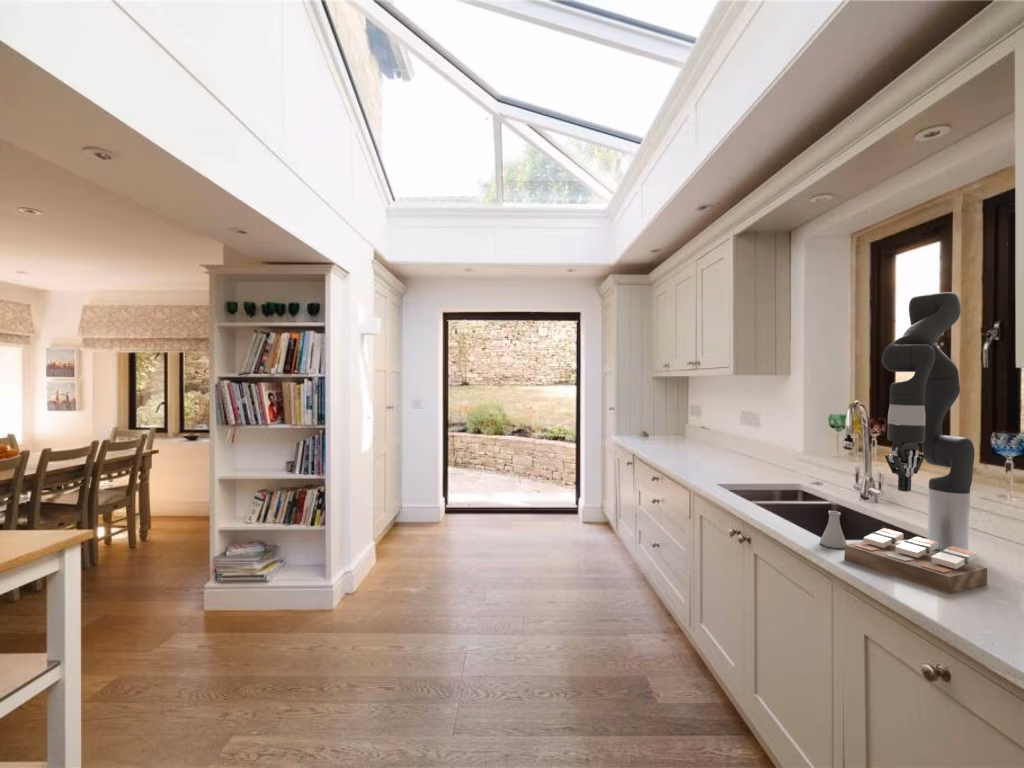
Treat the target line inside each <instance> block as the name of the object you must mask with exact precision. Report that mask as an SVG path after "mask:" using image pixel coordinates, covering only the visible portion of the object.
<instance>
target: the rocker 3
mask: <svg viewBox="0 0 1024 768" xmlns="http://www.w3.org/2000/svg"><path fill="white" fill-rule="evenodd" d="M976 559H977V552H976V551H973V550H971V549H968V550H966V549H963V548H959V547H955V546H951V547H949V548H947V549H945V550H939V552H937V553H935V555H933V556H931V561H932V562H933V563H937V564H940V565H944V566H947V567H950V568H954V569H957V568H959V567H961V566H963V565H965V564H966V565H967V564H968V563H970V562H972V561H974V560H976Z"/></svg>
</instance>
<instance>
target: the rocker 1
mask: <svg viewBox="0 0 1024 768" xmlns="http://www.w3.org/2000/svg"><path fill="white" fill-rule="evenodd" d="M903 539H904V533H902V532H900V531H896V530H893V529H889V528H884V527H883V528H881V529H879V530H877V531H873V532H871V533H870V534H868V535H866V536H864V537H863V542H865V543H868V544H872V545H875V546H878V547H882V548H884V547H887V546H889V545H891V544H895V542H896V543H898V542H900V541H901V540H903Z"/></svg>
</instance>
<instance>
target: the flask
mask: <svg viewBox="0 0 1024 768" xmlns="http://www.w3.org/2000/svg"><path fill="white" fill-rule="evenodd" d="M827 512H828V515H829V516H828V523H827V525H826V527H825V530H824V531H823V534H822V535H821V538H820V540H819V544H820V545H823V546H824V547H826V548H831V549H838V550H839V549H840V550H841V549H842V550H845V545H847V544H848V543H847V542H846V538H845V535H844V532H843V530H842V527H841V522H840V521H841V520H840V518H841V515H842V513H841V512H839V511H836V510H828V511H827Z"/></svg>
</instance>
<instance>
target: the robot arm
mask: <svg viewBox="0 0 1024 768" xmlns="http://www.w3.org/2000/svg"><path fill="white" fill-rule="evenodd" d="M961 309H962V307H961V300H960V298H959V296H958V294H957V293H954V292H950V291H947V292H944V291H943V292H935V293H930V294H929V293H928V294H923V295H917V296H913V297H911V299H910V300H909V303H908V312H909V313H908V316H909V320H910V326H909V327H908V328H907V329H906V330H905V332H904V334H903V335H902V336H901V337H900V338H898V339H896V340H894V341H892V342H890V343H889V344H888V345H887V346H886V347H885V349H884V350H883V351H882V354H881V364H882V366H883V367H884V368H885V369H886V370H887V371H889V372H893V373H914V374H913V376H912V377H911V378H909V379H906V380H898V381H893V382H892V383H891V384H890V386H889V407H888V413H887V436H886V437H887V438H886V439H887V440H888V441H889V442H890V441H891V442H892V446H891V453H890V454H885V457H884V458H885V460H886V462H887V464H888V467H889V469H890V470H891V473H892V474H893V475H896V476H898V477H897V479H898V480H897V490H898V491H900V492H904V493H908V492H911V491H912V477H914V474H915V475H917V474H919V473H918V472H919V470H920V469H921V466H922V463H923V462H924V460H925V462H926V463H928V464H929V465H932V466H939V467H946V468H950V469H949V473H948V474H946V475H944V476H939V477H938V476H937V477H932V478H930V479H929V480H928V500H927V501H928V502H927V503H928V504H927V534H926V535H927V536H926V537H927V538H926V539H928V540H932V541H935V542H938V548H936V549H935V550H938V551H941V550H945V549H947V548H949V547H951V546H955V547H959V548H963V549H966V550H969V544H970V543H969V539H970V538H969V537H970V511H971V510H970V509H971V508H970V506H971V503H970V500H971V486H972V483H973V474H974V463H975V455H976V454H975V445H974V444H973V443H974V442H973V441H972V440H971V439H969V438H968V437H965V436H964V437H963V436H954V435H945V434H944V435H943V421H944V419H945V416H946V414H947V413H948V412H949V411H950V409H951V407H952V406H953V404H954V403H955V402H956V401H957V399H958V397H959V395H960V392H961V391H960V390H961V384H960V376H959V374H960V373H959V370H958V369H959V368H958V367H957V365H956V364H955V363H954V362H953V361H952V360H951V358H949V357H948V355H947V354H945V353H944V352H943V351H942V349H940V347H938V346H937V344H936V342H937V340H938V339H939V338H940V337H941V336H942V335H943V334H944V333H945V332H946V331H948V330H949V329H950V328H951V327H952V326H953V325H954V324H956V323H957V321H958V320H959V319H960V316H961ZM919 444H921V449H922V453H920V445H919Z"/></svg>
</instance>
